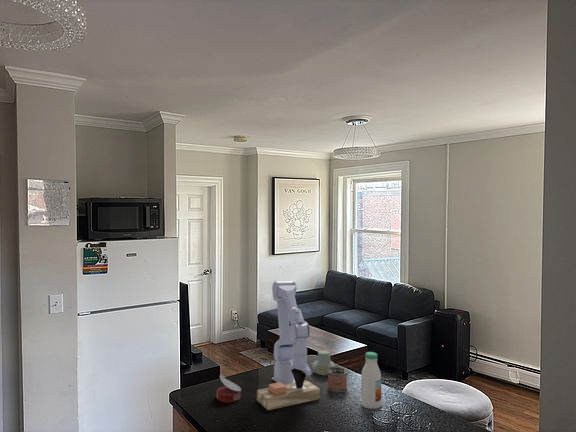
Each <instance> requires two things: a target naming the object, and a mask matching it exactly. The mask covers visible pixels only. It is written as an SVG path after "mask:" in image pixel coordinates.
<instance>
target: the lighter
mask: <svg viewBox="0 0 576 432" xmlns="http://www.w3.org/2000/svg"><path fill="white" fill-rule="evenodd" d="M335 366H336V365H335ZM335 366H330V370H333V371H328V375H327V377H328V378H327V391H328V390H329V392H335V393H337V392H339V393H345V392H347V391H348V389H347V380H348V379H347V377H348V372H347V371H345V367H344V366H341V365H337V366H336V367H335ZM334 370H335V371H334Z"/></svg>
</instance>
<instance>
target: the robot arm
mask: <svg viewBox="0 0 576 432" xmlns="http://www.w3.org/2000/svg"><path fill="white" fill-rule="evenodd" d="M271 289H272V291H271V292H272V298H273V300H274V301H275V302H276V307H277V319H278V334H279V339H278V340H277V341H276V342H275V343H274V345H273V358H274V360H275V362H274V364H273V377H271V380H273V381H275V383H278V382H281V383H282V384H284V385H286V384H291V383H296V387H297V388H302V387H303V383H304V381H306V380H305V379H306V377H307V376H311V375H312V369H311V368H310V367H309V365H308V359H307V358H308V338H309V337H310V333H311V330H310V326H309V323H308V322H307V321H306V320H304V319H305V318H304V317H303V313H302V310H301V309H300V308H298V305H297V301H296V293H297V283H296V282H295V280H282V281H281V280H277V281H276V280H274V281H273V283H272V287H271ZM290 326H291V327H290Z"/></svg>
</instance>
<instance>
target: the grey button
mask: <svg viewBox="0 0 576 432" xmlns="http://www.w3.org/2000/svg"><path fill="white" fill-rule="evenodd" d="M291 387H292V388H293V389H295V390H296V391H300V390H304V389H308V388H306V387H305V386H303V387H302V388H297V387H296V385H295V386H291Z"/></svg>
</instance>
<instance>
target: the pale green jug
mask: <svg viewBox="0 0 576 432" xmlns="http://www.w3.org/2000/svg"><path fill="white" fill-rule="evenodd" d="M330 366H335V367H337V366H336V364H335V363H334V361H332V360H331V351H329V350H323V349H322V350H319V351H317V360H315V361H314V362H313V363H312V365H311V367H312V369H311V370H313V371H314V373H315V374H317V375H319V376H321V375H322V376H323V377H326V376H328V371H333V370H330ZM334 371H336V370H334Z"/></svg>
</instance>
